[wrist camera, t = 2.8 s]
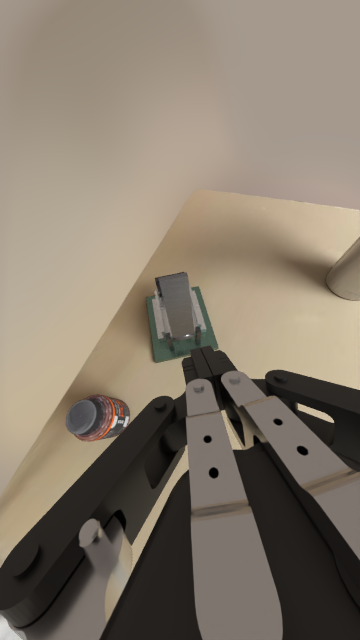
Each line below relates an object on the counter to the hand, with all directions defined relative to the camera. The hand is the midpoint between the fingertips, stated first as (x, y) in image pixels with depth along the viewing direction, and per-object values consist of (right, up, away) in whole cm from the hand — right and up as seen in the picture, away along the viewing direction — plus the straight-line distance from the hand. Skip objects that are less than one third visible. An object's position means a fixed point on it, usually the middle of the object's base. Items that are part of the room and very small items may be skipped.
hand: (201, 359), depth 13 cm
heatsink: (-2, +2, +29) cm, 29 cm away
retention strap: (-1, 0, +20) cm, 20 cm away
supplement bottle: (-13, -15, +21) cm, 29 cm away
